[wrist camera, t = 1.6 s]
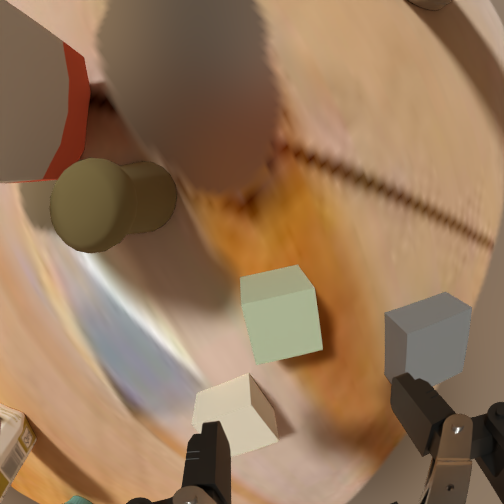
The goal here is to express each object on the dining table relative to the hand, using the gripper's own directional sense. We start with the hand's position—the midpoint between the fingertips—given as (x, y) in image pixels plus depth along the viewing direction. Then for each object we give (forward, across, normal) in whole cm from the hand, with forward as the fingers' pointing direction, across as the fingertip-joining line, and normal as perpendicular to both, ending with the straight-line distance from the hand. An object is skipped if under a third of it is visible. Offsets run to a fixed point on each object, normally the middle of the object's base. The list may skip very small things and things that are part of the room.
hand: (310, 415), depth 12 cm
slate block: (+15, -15, +8) cm, 22 cm away
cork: (+15, +9, -11) cm, 21 cm away
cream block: (+15, +6, +11) cm, 19 cm away
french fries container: (+15, +15, -20) cm, 29 cm away
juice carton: (+15, +43, +14) cm, 48 cm away
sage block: (+15, 0, 0) cm, 15 cm away
